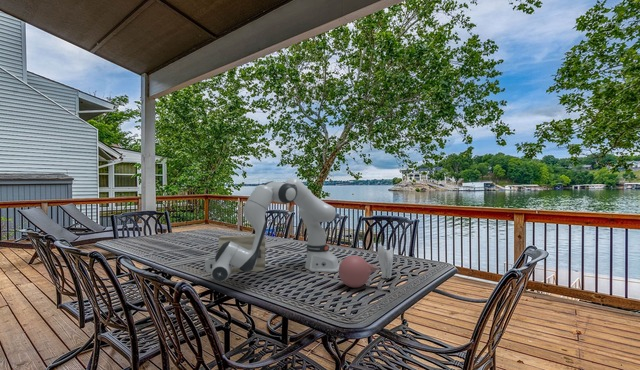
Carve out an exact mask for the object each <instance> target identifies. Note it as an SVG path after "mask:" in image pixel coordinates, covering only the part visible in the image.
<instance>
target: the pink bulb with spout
mask: <svg viewBox="0 0 640 370" xmlns="http://www.w3.org/2000/svg"><path fill="white" fill-rule="evenodd" d="M339 265H340V266H339V271H338V277H339V278H340V281H341V282H342V283H343V284H344V285H345V286H347V287H349V288H354V289H355V288H356V289H357V288H361V287H363V286H365V284H366V283H367V282H368V281H369V279H370V276H371V274H372V273H376V271H379V270H380V266H379V267H378V266H376V264H374V263H373V264H371V263H368V262H367V260H366V259H365V258H363V257H361V256H359V255H355V254H354V255H353V254H352V255H349V256H347V257H344V258H343V259H342V260H341V262H340V263H339Z"/></svg>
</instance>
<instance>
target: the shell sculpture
mask: <svg viewBox="0 0 640 370" xmlns="http://www.w3.org/2000/svg"><path fill="white" fill-rule="evenodd" d="M377 259H378V265H379V269H380V271H381V277H380V278H382V279H384V278H389V279H388V280H390V279H391V278H392V273H393V272H392V271H393V270H392V269H393V262H394V247H391V248H390V249H385V247H384V246H383V245H382V244H380V245H378V246H377ZM386 276H387V277H386Z"/></svg>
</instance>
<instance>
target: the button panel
mask: <svg viewBox="0 0 640 370" xmlns="http://www.w3.org/2000/svg"><path fill="white" fill-rule="evenodd" d="M254 238H255V234H254V235H252V234H251V235H221V236H219V237H218V250H219V249H220V247H221V246H222V245H223V244H224V243H226V242H228V241H231V242H233V243H235V244H238V245H239V246H241V247H243V248H245V249H247V250H251V248H252V244H253V241H254ZM259 251H260V257H259V258H258V259H257V262H256V265H255V267H254V268H253V269H252V270H251V271H250V272H265V271H266V234H264V237H263V240H262V243H261V246H260V249H259ZM231 273H244V272H243V271H241V270H239V269H238V268H236V267H232V270H231Z"/></svg>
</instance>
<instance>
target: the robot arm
mask: <svg viewBox="0 0 640 370" xmlns="http://www.w3.org/2000/svg"><path fill="white" fill-rule="evenodd" d="M272 202H274V203H281V204H291V203H295V205H296V206H297V207H298V216H299V218H300V219H301V220H302V221H303V222H304V225H305V227H306V233H307V244H306V260H305V264H304V265H305V266H304V268H305V269H307V270H309V272H320V273H321V272H323V273H337V272H338V273H339V266H340V263H339V260H338V257H337V256H336V255H335V254H334V253H332V252H331V251H330V245H328V244H327V243H326V242H327V241H326V240H327V238H326V237H327V236H326V235H327V234H326V229H324V228H323V227H322V225H321V223H331V222H333V220H334V219H335V218H336V215H337V213H336V212H337V211H336V209H335V207H334V206H333V205H330V204H328V203H327V202H325V201H323V200H322V199H320V198H319V197H317V196H316V195H315V194H314V193H312V192H311V190H310V189H309V188H308V187H307V186H306V185H305V184H304V183H303V182H302V181H301V180H299V179H298V178H296V177H290V178H288V179H286V180H285V181H284V182H282V181H273V180H271V181H267V182H265V183H264V184H260V185H257V186H256V187H255V188H254V189H253V191H251V194H249V197H248V198H247V200H246V202H245V204H244V206H243V209H242V212H243V216H244V218H245V220H246V221H247V222H248V223H249V224H250V226H251V227H252V228H253V229H254V231H255V234H254V235H255V238H254V241H253V244H252V248H251V250H247V249H245V248H243V247H241V246H239V245H238V244H235V243H233V242H231V241H228V242H226V243H224V244H223V245H222V246H221V247H220V249H219V248H218V251H217V252H216V255H215V256H214V257H207V258H205V259H204V268H205V273H210V274H211V277H212V279H213V280H214V281H216V282H224V281H226V280H227V279H228V278H229V277H230V276H231V273H232V272H231V270H232V267H236V268H238V269H239V270H241V271H243V272H242V273H247V272H252V271H251V270H252V269H253V268H254V267H255V265H256V262H257V256H258V253H259V249H260V246H261V243H262V240H263V237H264V235H266V234H265V233H266V228H267V222H268V221H266V213H267V211H268V209H269V206H270V205H271V203H272Z"/></svg>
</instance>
